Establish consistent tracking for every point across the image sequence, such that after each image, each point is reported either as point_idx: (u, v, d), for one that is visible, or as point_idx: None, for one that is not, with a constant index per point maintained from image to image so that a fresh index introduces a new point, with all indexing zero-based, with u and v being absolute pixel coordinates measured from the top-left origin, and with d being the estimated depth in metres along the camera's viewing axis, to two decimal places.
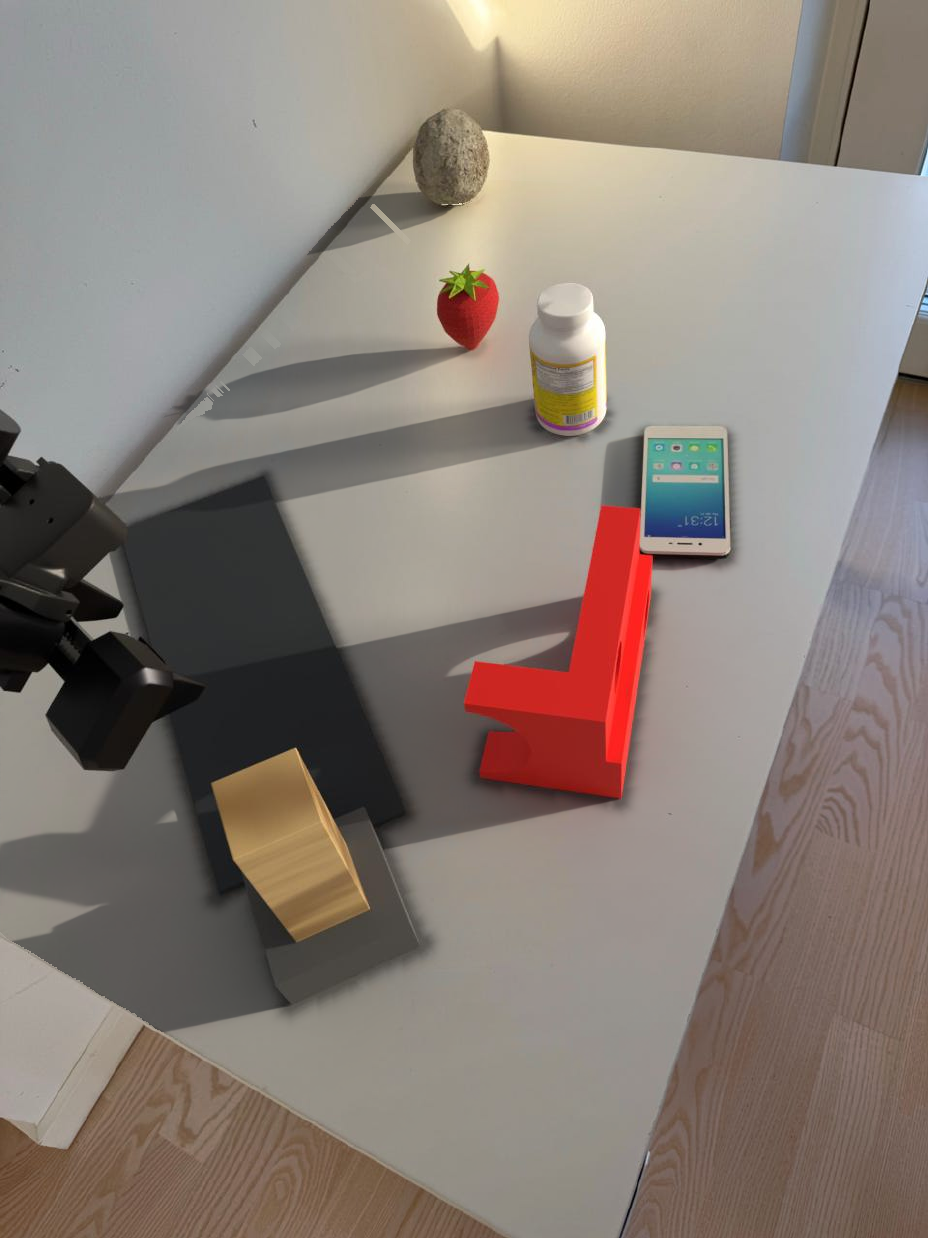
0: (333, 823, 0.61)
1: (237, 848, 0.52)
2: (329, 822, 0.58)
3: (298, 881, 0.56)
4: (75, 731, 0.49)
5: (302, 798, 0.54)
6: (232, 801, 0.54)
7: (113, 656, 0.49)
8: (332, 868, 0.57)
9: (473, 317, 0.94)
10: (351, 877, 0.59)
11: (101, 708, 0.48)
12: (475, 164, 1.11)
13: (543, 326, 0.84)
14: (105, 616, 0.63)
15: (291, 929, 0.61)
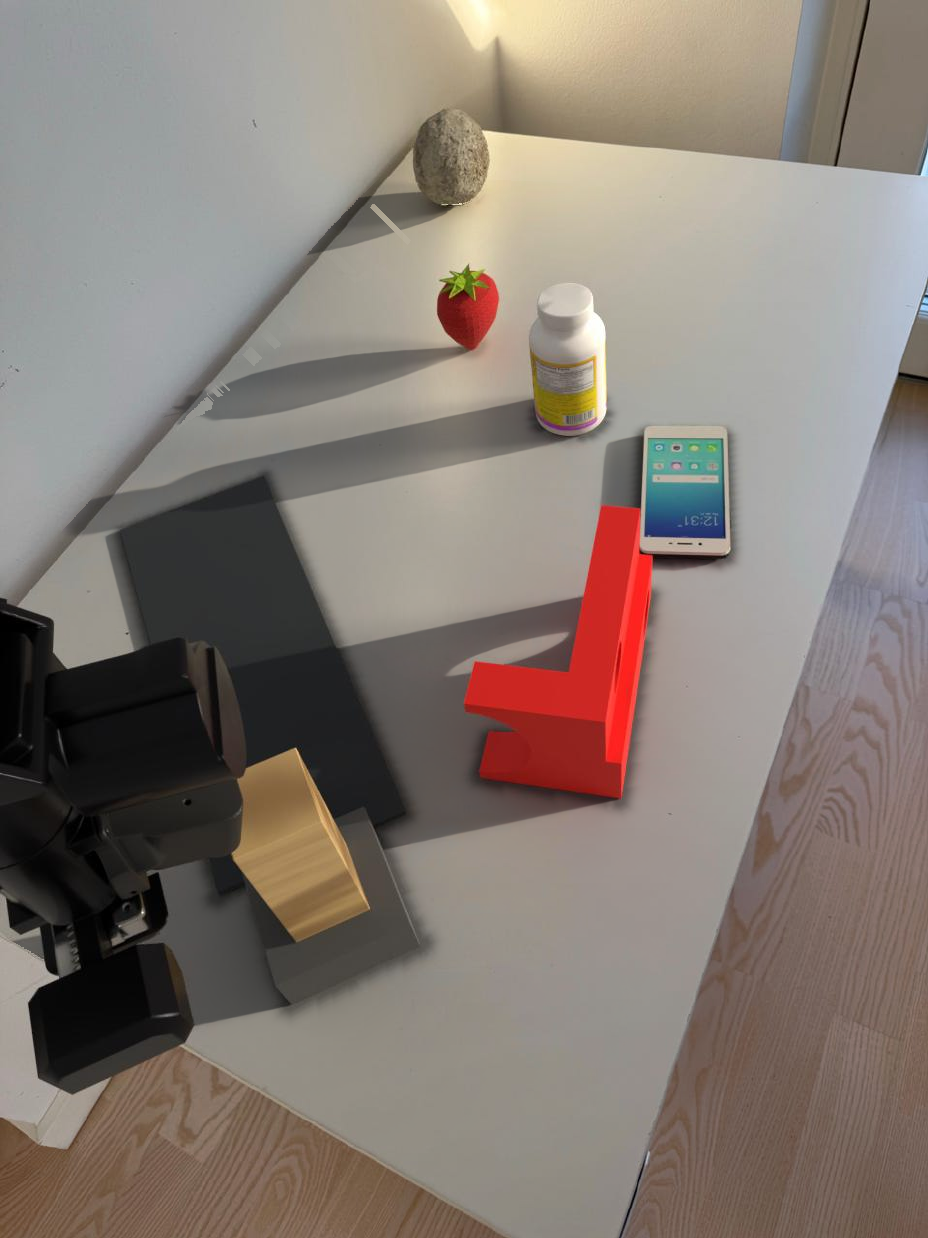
0: (333, 823, 0.61)
1: (237, 848, 0.52)
2: (329, 822, 0.58)
3: (298, 881, 0.56)
4: (62, 1034, 0.41)
5: (302, 798, 0.54)
6: None
7: (155, 978, 0.43)
8: (332, 868, 0.57)
9: (473, 317, 0.94)
10: (351, 877, 0.59)
11: (109, 1030, 0.41)
12: (475, 164, 1.11)
13: (543, 326, 0.84)
14: None
15: (291, 929, 0.61)
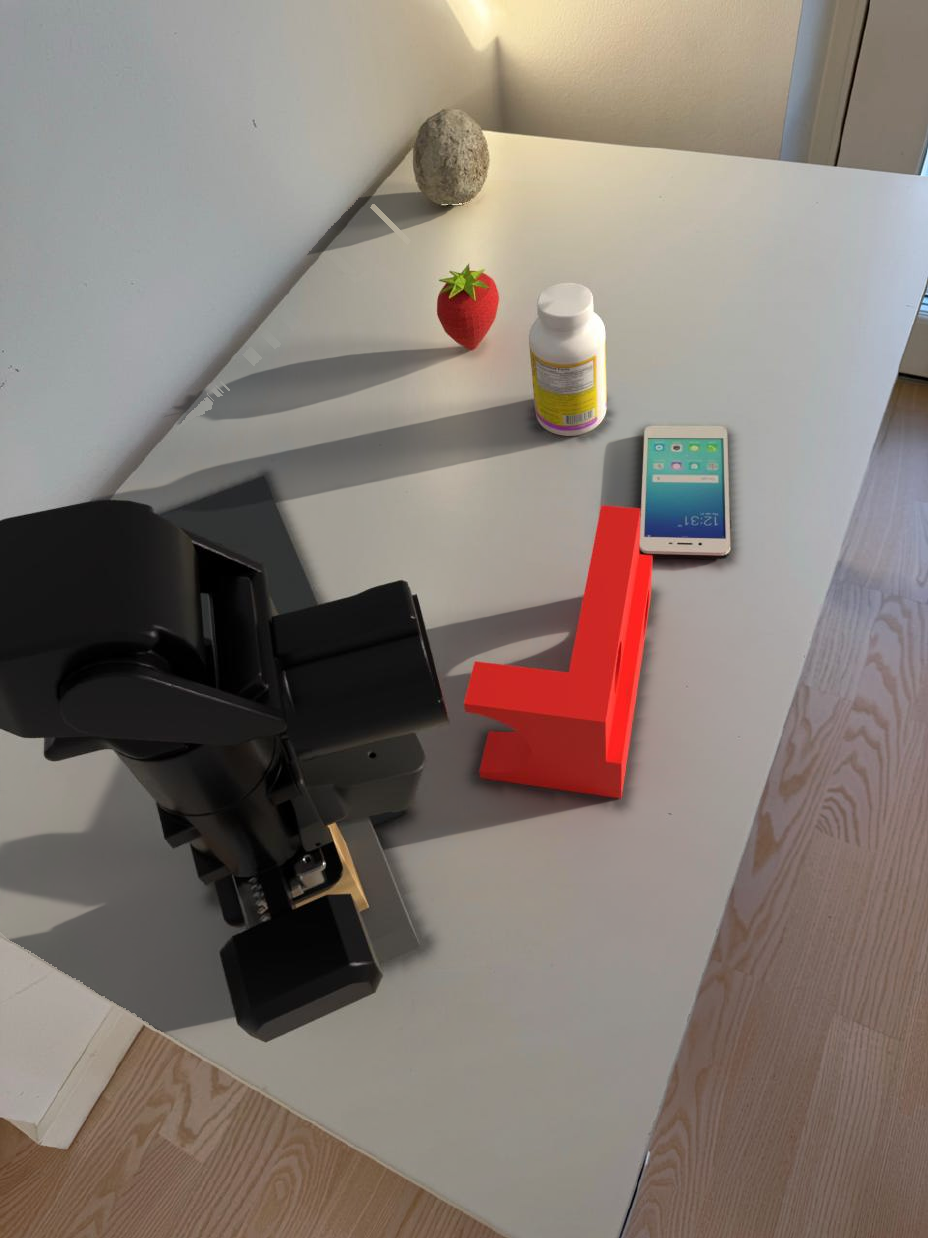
0: None
1: None
2: None
3: None
4: (261, 981, 0.41)
5: None
6: None
7: (348, 928, 0.43)
8: None
9: (473, 317, 0.94)
10: (348, 870, 0.59)
11: (309, 977, 0.41)
12: (475, 164, 1.11)
13: (543, 326, 0.84)
14: None
15: None
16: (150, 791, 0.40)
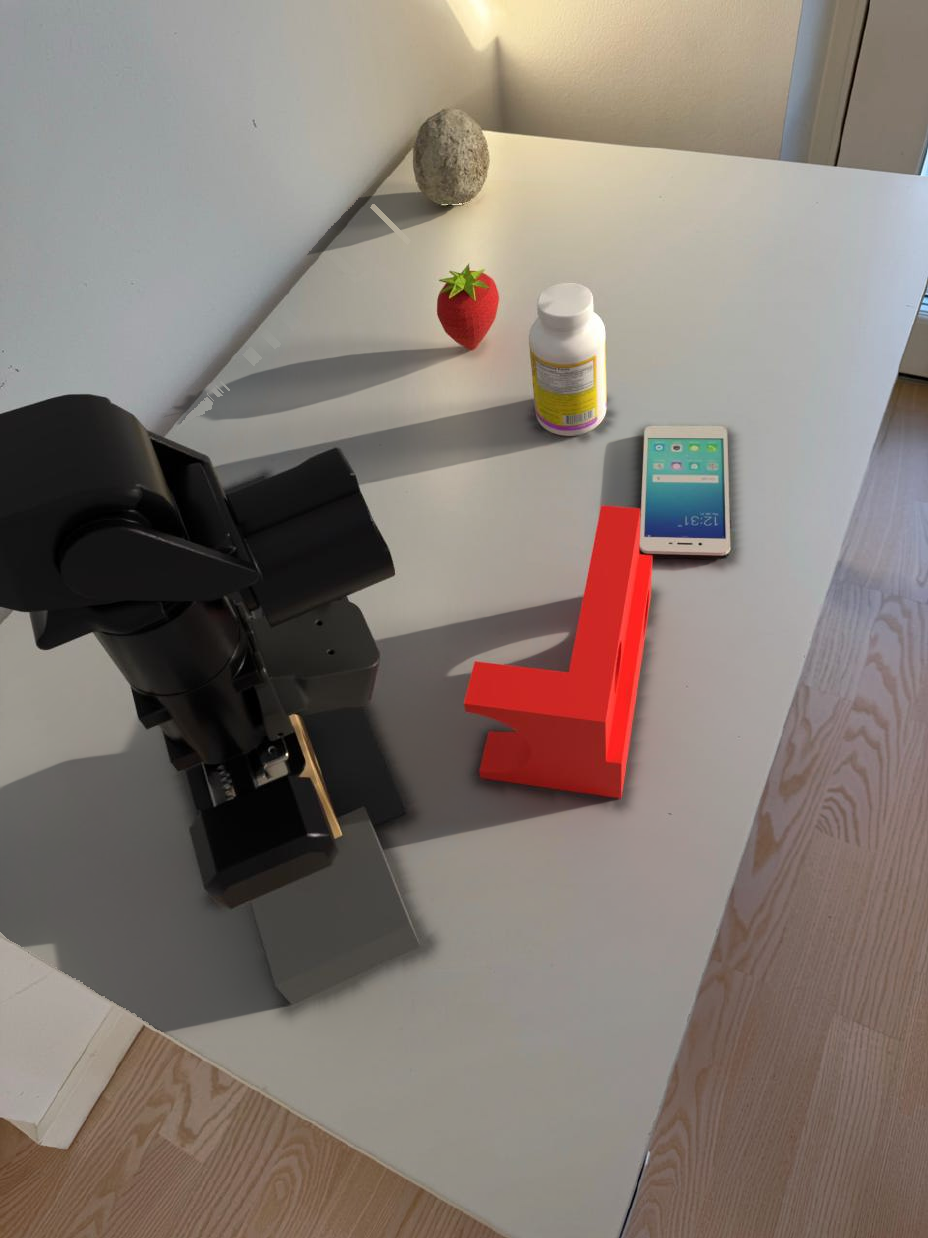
0: (321, 777, 0.69)
1: None
2: (306, 736, 0.71)
3: None
4: (226, 849, 0.46)
5: None
6: None
7: (306, 804, 0.47)
8: None
9: (473, 317, 0.94)
10: (301, 734, 0.67)
11: (269, 846, 0.45)
12: (475, 164, 1.11)
13: (543, 326, 0.84)
14: None
15: None
16: (134, 675, 0.43)
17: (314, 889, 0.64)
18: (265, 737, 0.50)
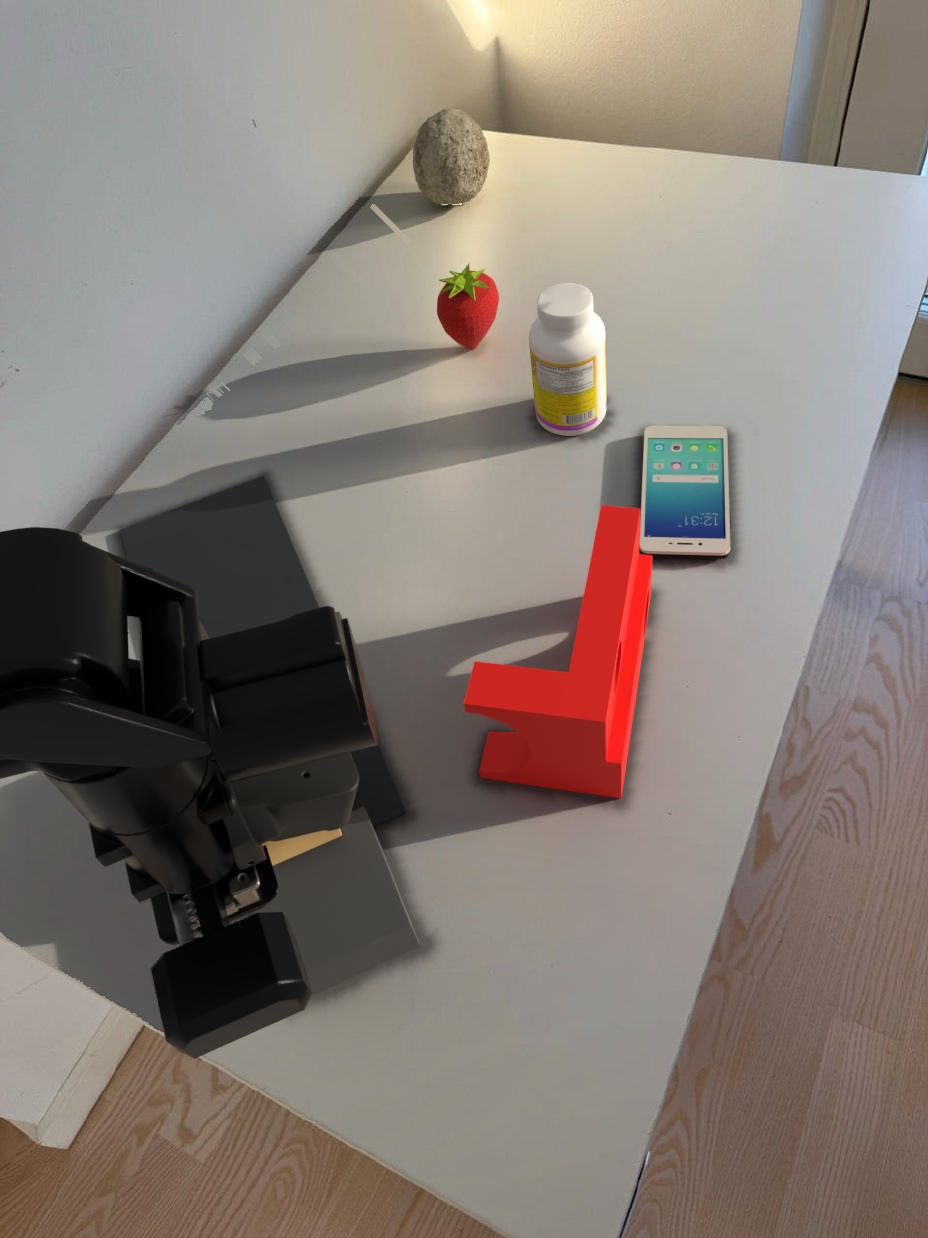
0: None
1: None
2: None
3: None
4: (190, 998, 0.42)
5: None
6: None
7: (278, 946, 0.43)
8: None
9: (473, 317, 0.94)
10: None
11: (237, 995, 0.42)
12: (475, 164, 1.11)
13: (543, 326, 0.84)
14: None
15: None
16: (80, 811, 0.40)
17: (314, 889, 0.64)
18: (235, 862, 0.47)
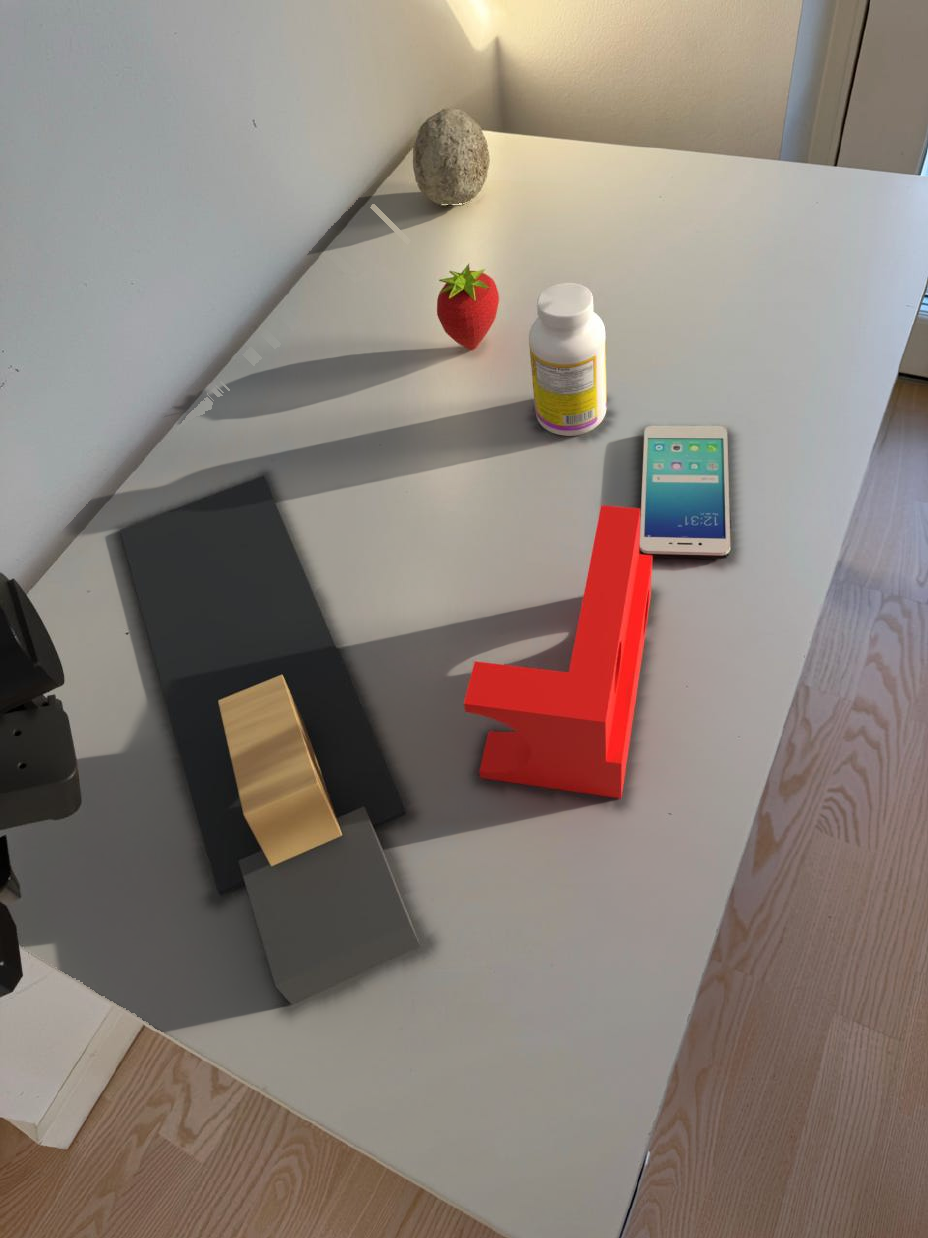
0: (321, 777, 0.69)
1: None
2: (306, 736, 0.71)
3: (257, 730, 0.69)
4: None
5: None
6: None
7: None
8: (285, 720, 0.69)
9: (473, 317, 0.94)
10: (301, 734, 0.67)
11: None
12: (475, 164, 1.11)
13: (543, 326, 0.84)
14: None
15: (242, 792, 0.64)
16: None
17: (314, 889, 0.64)
18: None
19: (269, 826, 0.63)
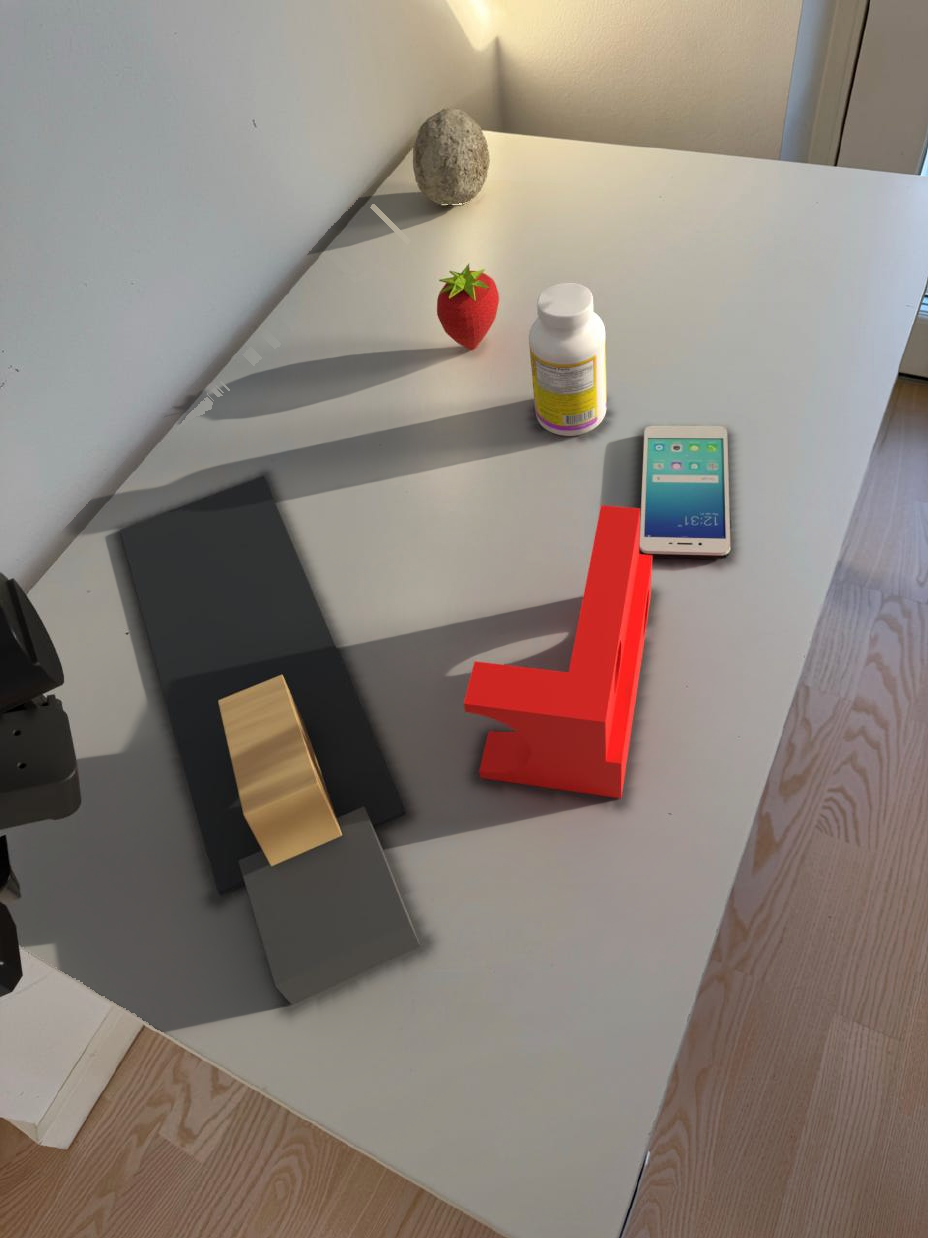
0: (321, 777, 0.69)
1: None
2: (306, 736, 0.71)
3: (257, 730, 0.69)
4: None
5: None
6: None
7: None
8: (285, 720, 0.69)
9: (473, 317, 0.94)
10: (301, 734, 0.67)
11: None
12: (475, 164, 1.11)
13: (543, 326, 0.84)
14: None
15: (242, 792, 0.64)
16: None
17: (314, 889, 0.64)
18: None
19: (269, 826, 0.63)
